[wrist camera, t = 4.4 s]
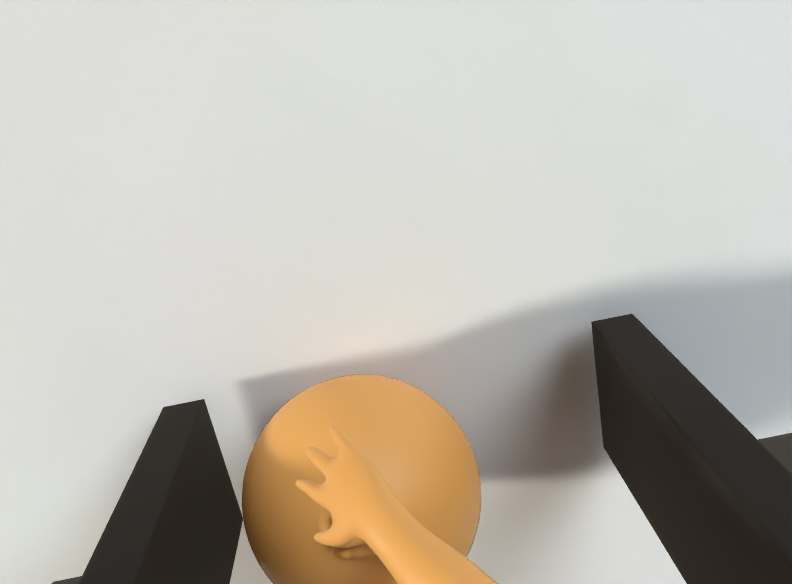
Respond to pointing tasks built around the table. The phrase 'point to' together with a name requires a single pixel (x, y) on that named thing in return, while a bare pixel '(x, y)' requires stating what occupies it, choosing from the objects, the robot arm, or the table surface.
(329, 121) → the table surface
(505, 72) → the table surface
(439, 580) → the figurine
